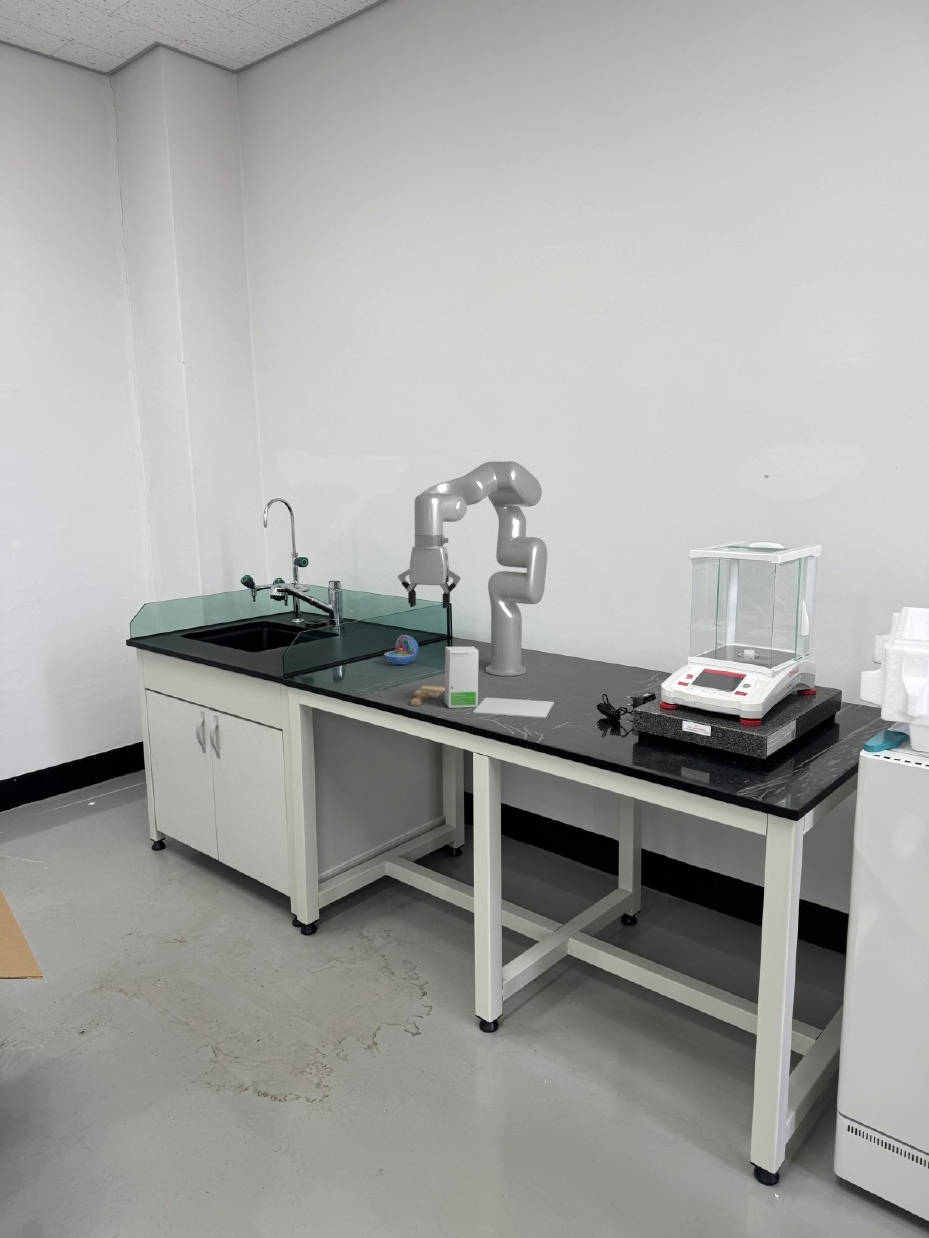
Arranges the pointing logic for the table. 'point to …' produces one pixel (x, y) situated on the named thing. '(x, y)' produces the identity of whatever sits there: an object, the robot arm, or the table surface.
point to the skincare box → (461, 677)
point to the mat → (514, 707)
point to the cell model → (403, 650)
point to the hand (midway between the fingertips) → (429, 606)
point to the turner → (426, 694)
